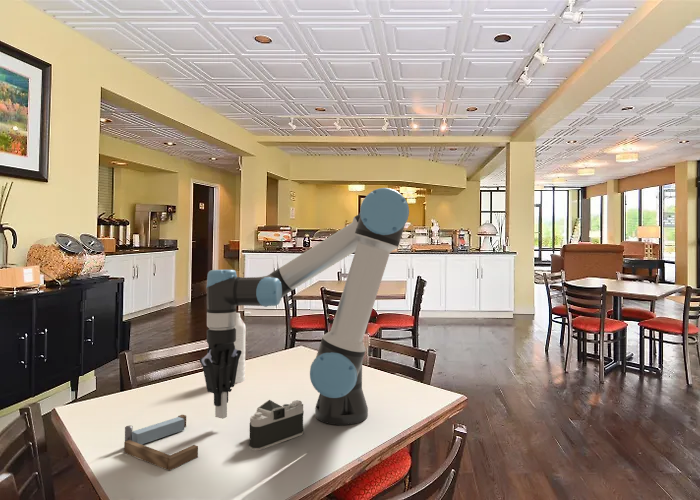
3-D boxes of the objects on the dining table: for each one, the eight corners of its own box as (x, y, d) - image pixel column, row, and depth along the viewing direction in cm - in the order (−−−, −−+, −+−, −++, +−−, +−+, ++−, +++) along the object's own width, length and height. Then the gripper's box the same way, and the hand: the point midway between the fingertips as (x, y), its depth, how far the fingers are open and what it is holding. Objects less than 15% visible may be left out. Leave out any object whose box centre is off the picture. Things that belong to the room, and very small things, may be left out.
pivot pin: (133, 447, 106) (133, 426, 106) (127, 450, 105) (127, 428, 105) (129, 445, 107) (129, 425, 107) (123, 448, 106) (123, 427, 106)
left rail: (197, 457, 102) (198, 446, 102) (169, 470, 95) (170, 458, 95) (193, 455, 102) (193, 444, 102) (165, 468, 96) (165, 457, 96)
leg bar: (137, 445, 106) (137, 434, 106) (131, 443, 108) (132, 431, 108) (184, 429, 116) (184, 419, 116) (178, 427, 118) (178, 416, 118)
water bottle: (230, 386, 156) (231, 314, 157) (223, 381, 162) (224, 312, 162) (253, 382, 162) (254, 312, 162) (246, 377, 167) (247, 310, 167)
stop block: (186, 426, 119) (186, 415, 119) (181, 428, 118) (181, 417, 118) (182, 425, 120) (182, 414, 120) (177, 427, 119) (178, 416, 119)
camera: (288, 424, 122) (288, 388, 122) (308, 433, 116) (309, 395, 116) (237, 442, 110) (237, 401, 110) (257, 453, 104) (257, 410, 104)
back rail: (171, 467, 97) (172, 455, 97) (167, 469, 96) (167, 458, 96) (129, 450, 105) (129, 439, 105) (124, 452, 103) (124, 441, 104)
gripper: (229, 323, 126) (228, 407, 126) (191, 330, 115) (191, 422, 115) (249, 325, 122) (248, 411, 122) (212, 332, 111) (212, 427, 111)
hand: (221, 416), depth 118 cm, fingers closed
